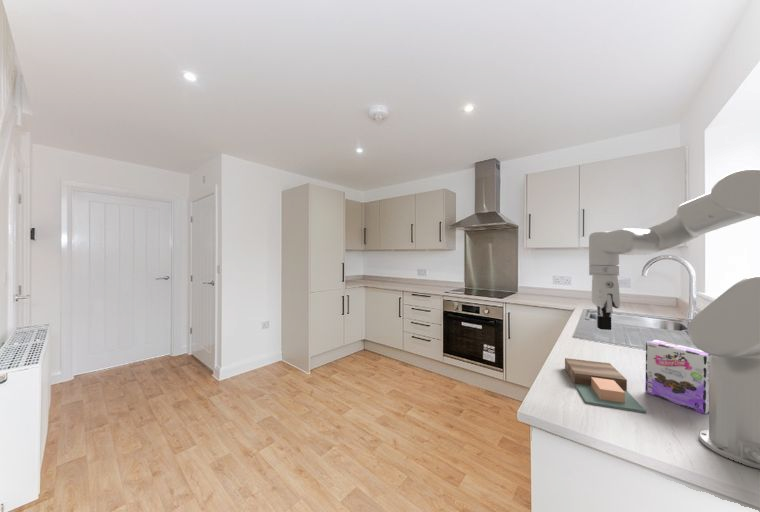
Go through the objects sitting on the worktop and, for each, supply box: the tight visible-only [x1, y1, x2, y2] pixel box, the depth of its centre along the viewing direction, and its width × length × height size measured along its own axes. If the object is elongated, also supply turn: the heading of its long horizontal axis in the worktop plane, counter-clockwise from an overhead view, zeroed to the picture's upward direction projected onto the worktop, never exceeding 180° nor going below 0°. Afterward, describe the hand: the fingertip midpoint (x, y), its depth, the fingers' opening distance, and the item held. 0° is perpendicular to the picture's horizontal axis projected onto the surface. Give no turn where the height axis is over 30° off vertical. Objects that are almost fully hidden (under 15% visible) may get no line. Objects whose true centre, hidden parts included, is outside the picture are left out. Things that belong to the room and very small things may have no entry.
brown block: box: [564, 357, 628, 391], centre depth 101 cm, size 15×14×4 cm
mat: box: [574, 384, 647, 414], centre depth 88 cm, size 12×14×1 cm
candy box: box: [645, 339, 711, 415], centre depth 86 cm, size 14×6×16 cm, turn 21°
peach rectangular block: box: [591, 377, 625, 403], centre depth 89 cm, size 9×6×3 cm, turn 158°
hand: (604, 328), depth 91 cm, fingers closed
